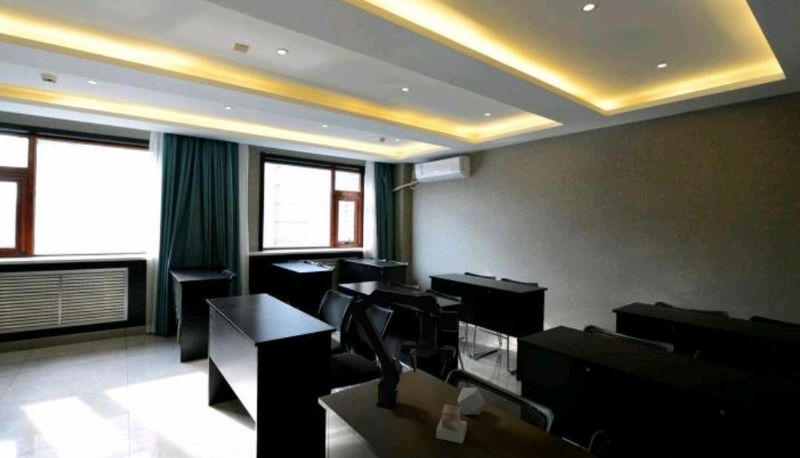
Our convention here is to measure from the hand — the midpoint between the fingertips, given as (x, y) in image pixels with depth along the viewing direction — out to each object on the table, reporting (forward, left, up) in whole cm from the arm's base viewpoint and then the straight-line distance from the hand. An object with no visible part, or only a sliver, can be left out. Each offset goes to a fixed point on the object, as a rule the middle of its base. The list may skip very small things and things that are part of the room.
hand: (427, 373), depth 132 cm
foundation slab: (+11, -13, -12) cm, 21 cm away
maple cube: (+11, -13, -10) cm, 20 cm away
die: (+15, +2, -12) cm, 20 cm away
